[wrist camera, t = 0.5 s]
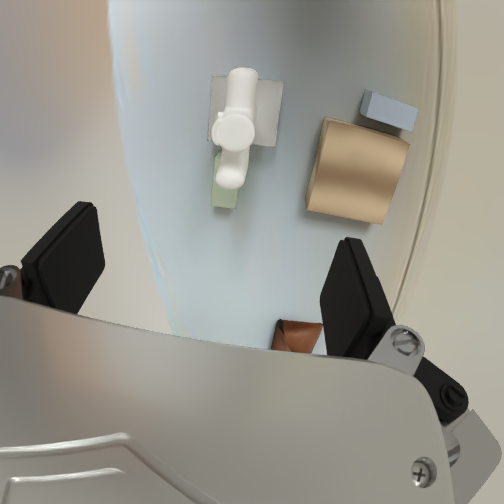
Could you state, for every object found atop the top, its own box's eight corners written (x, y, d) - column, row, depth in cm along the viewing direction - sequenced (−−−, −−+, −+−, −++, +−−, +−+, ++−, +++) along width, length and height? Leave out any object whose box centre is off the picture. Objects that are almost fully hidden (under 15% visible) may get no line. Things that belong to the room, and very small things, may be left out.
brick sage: (218, 151, 36) (214, 158, 33) (243, 154, 36) (241, 161, 33) (214, 195, 39) (210, 205, 36) (237, 198, 39) (235, 209, 37)
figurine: (283, 71, 29) (293, 73, 17) (273, 148, 35) (275, 200, 22) (218, 65, 29) (183, 65, 17) (212, 142, 35) (179, 191, 22)
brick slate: (358, 112, 32) (366, 116, 29) (364, 89, 30) (372, 92, 27) (402, 126, 32) (412, 132, 29) (408, 105, 30) (418, 109, 28)
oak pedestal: (324, 116, 32) (329, 121, 30) (400, 137, 33) (409, 144, 30) (304, 199, 38) (307, 210, 36) (375, 214, 39) (381, 225, 36)
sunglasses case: (304, 377, 61) (288, 399, 56) (276, 362, 64) (259, 383, 59) (325, 321, 51) (308, 347, 46) (289, 304, 54) (270, 327, 49)
